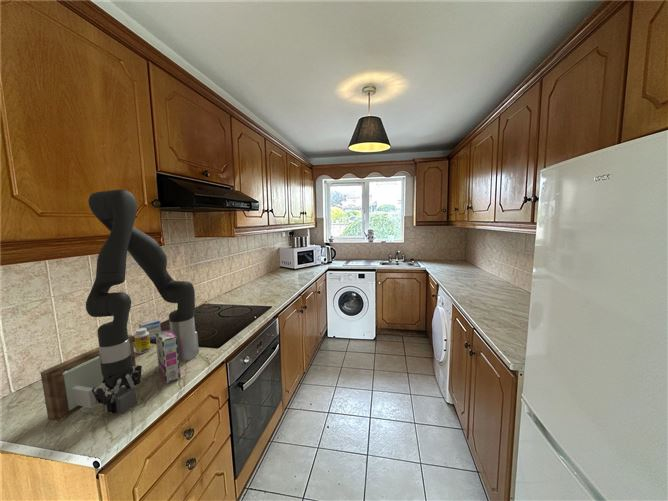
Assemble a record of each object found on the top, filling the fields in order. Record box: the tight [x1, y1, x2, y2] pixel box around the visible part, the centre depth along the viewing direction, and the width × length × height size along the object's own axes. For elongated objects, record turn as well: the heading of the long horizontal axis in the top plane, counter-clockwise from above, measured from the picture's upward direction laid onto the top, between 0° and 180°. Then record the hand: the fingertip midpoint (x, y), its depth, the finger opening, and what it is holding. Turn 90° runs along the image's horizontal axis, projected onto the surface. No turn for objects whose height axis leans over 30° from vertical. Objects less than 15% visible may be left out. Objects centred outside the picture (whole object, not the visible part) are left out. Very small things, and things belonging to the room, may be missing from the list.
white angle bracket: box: [63, 356, 106, 411], centre depth 89 cm, size 16×8×12 cm, turn 165°
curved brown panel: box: [40, 334, 137, 422], centre depth 92 cm, size 26×4×15 cm, turn 165°
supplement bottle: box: [133, 328, 152, 354], centre depth 122 cm, size 6×6×10 cm
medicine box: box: [138, 318, 162, 342], centre depth 135 cm, size 8×4×9 cm, turn 143°
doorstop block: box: [105, 386, 138, 415], centre depth 85 cm, size 5×6×5 cm
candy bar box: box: [155, 328, 181, 384], centre depth 102 cm, size 11×5×16 cm, turn 45°
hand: (122, 405), depth 86 cm, fingers closed on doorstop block, 5 cm apart
